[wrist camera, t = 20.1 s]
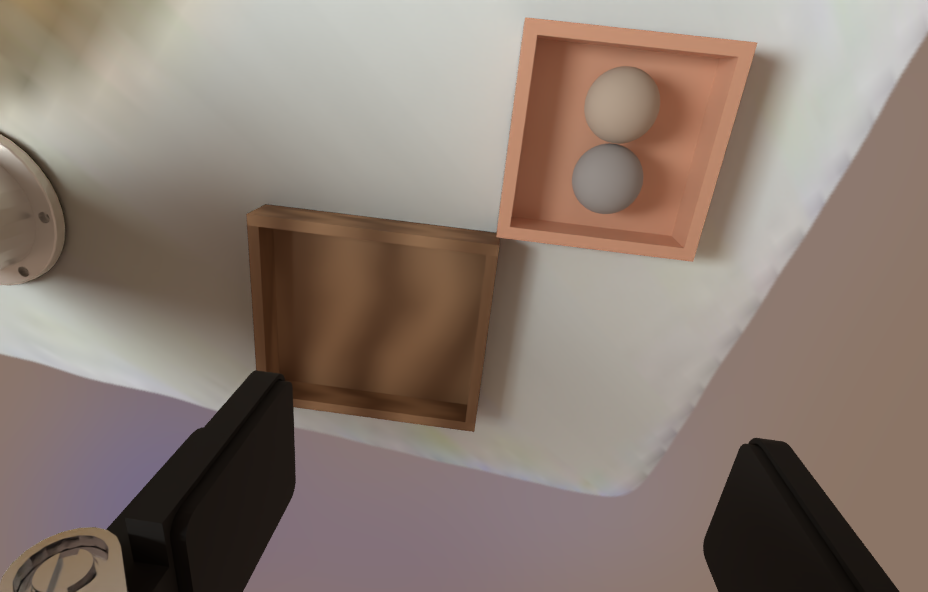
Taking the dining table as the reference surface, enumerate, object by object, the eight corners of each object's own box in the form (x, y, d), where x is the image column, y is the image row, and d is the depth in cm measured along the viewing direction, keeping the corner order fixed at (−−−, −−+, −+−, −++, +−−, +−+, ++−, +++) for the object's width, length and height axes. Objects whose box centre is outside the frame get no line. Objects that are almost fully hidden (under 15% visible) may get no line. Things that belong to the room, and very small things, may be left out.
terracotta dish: (497, 223, 38) (496, 237, 35) (523, 23, 33) (525, 17, 30) (677, 245, 37) (693, 261, 34) (732, 46, 32) (757, 42, 29)
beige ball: (586, 62, 33) (599, 61, 29) (656, 70, 33) (679, 70, 29) (573, 135, 34) (583, 143, 30) (640, 143, 34) (659, 152, 30)
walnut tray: (273, 382, 45) (258, 402, 42) (265, 204, 39) (246, 214, 36) (476, 409, 44) (474, 431, 42) (500, 233, 38) (499, 245, 35)
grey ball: (574, 136, 35) (585, 143, 30) (640, 143, 34) (660, 152, 30) (562, 202, 36) (571, 217, 32) (625, 209, 36) (642, 225, 32)
